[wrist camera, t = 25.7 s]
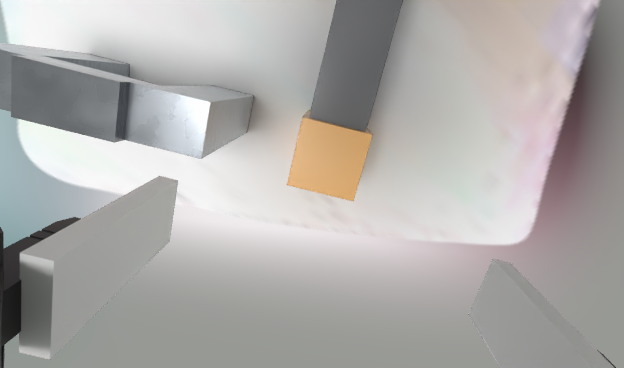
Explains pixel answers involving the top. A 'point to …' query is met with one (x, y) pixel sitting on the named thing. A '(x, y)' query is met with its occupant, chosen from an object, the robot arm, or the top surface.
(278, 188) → the top surface
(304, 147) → the grey and orange block
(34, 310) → the robot arm
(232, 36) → the top surface
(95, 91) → the housing
